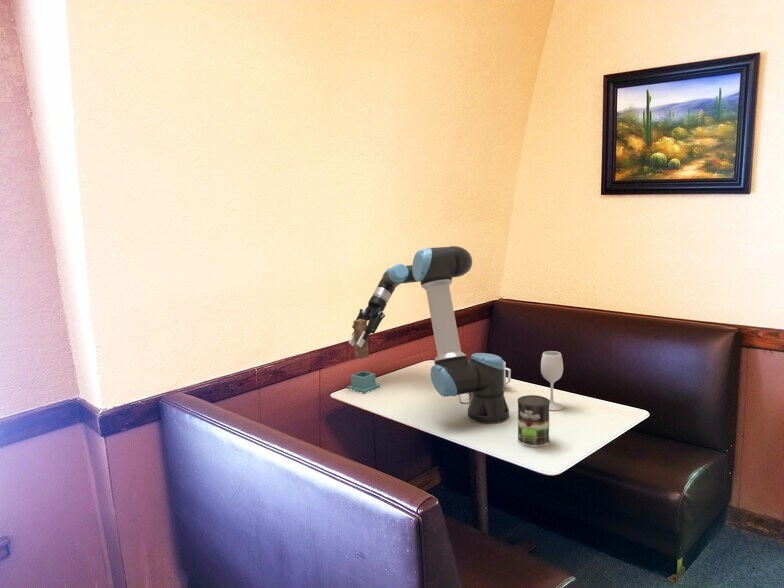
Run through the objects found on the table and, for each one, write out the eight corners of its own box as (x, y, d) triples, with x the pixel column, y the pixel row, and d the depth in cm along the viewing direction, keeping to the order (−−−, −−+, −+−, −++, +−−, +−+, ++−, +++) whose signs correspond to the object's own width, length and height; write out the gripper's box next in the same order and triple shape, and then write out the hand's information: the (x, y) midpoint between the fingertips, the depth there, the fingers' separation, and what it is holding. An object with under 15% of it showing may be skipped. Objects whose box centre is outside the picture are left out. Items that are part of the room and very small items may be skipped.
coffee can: (544, 449, 192) (544, 407, 190) (513, 443, 198) (512, 402, 195) (553, 437, 201) (553, 397, 199) (523, 432, 206) (523, 393, 204)
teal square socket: (380, 387, 260) (379, 373, 259) (364, 393, 253) (363, 379, 252) (363, 383, 267) (362, 369, 266) (347, 389, 260) (346, 375, 258)
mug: (480, 388, 253) (479, 363, 251) (492, 383, 259) (492, 358, 257) (503, 394, 245) (503, 368, 243) (516, 389, 251) (516, 363, 249)
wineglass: (539, 402, 234) (539, 350, 231) (562, 403, 232) (563, 350, 229) (540, 410, 226) (540, 356, 222) (564, 411, 224) (564, 356, 220)
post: (368, 356, 258) (366, 320, 255) (362, 358, 255) (360, 321, 252) (361, 355, 261) (359, 319, 258) (355, 357, 258) (353, 320, 255)
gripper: (398, 306, 260) (374, 352, 251) (369, 303, 271) (345, 346, 262) (389, 296, 255) (365, 342, 246) (360, 293, 267) (335, 337, 257)
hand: (355, 344), depth 254 cm, fingers closed on post, 4 cm apart
